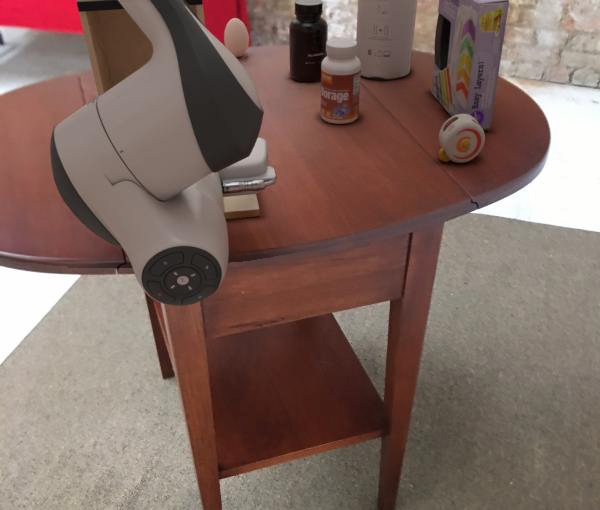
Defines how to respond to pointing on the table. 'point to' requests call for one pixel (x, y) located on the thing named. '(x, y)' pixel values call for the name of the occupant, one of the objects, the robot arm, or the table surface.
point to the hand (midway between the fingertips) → (178, 140)
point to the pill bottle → (340, 81)
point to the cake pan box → (469, 56)
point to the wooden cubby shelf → (116, 40)
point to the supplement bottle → (307, 41)
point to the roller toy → (460, 139)
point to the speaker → (385, 37)
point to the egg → (236, 37)
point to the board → (241, 206)
